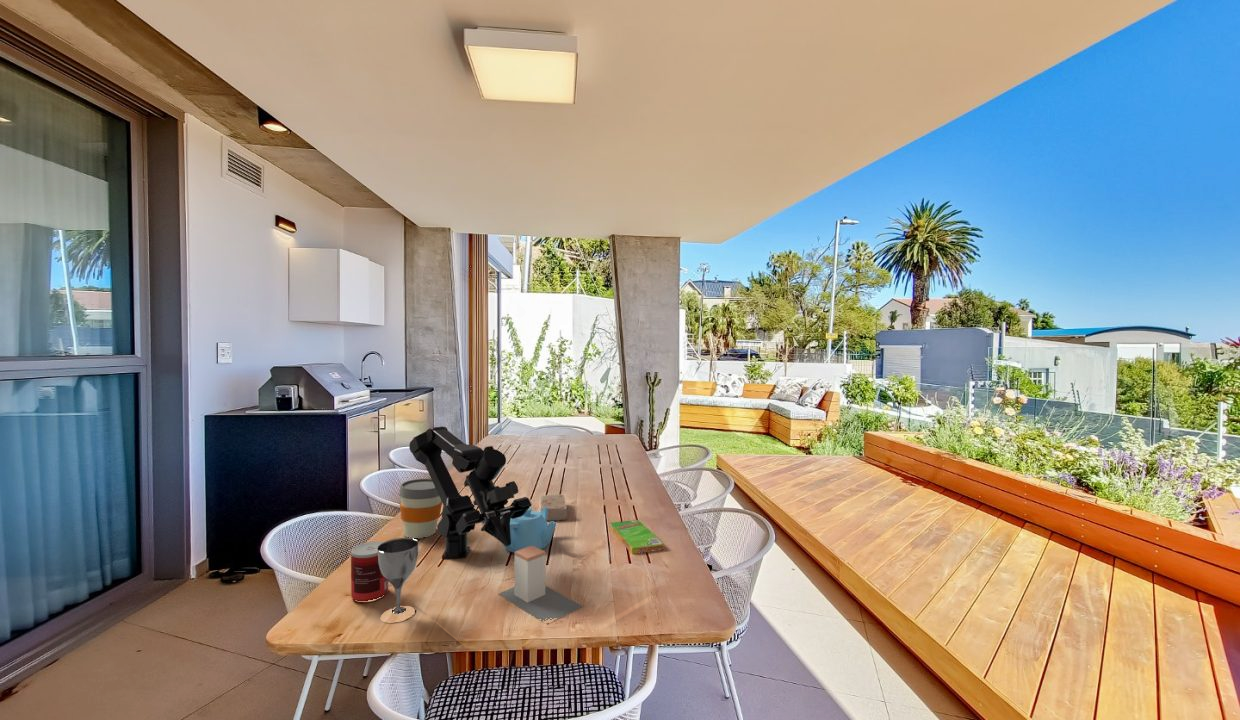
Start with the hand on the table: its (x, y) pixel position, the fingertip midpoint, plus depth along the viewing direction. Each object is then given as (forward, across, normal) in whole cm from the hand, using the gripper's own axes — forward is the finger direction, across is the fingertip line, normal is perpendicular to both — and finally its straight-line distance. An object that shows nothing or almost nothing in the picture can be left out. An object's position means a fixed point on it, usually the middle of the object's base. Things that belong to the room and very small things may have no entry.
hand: (509, 545), depth 118 cm
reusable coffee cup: (-26, 0, +39) cm, 47 cm away
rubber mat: (+15, 0, -2) cm, 15 cm away
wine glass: (+3, -24, +11) cm, 26 cm away
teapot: (-4, +17, +18) cm, 25 cm away
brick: (-16, +40, +30) cm, 52 cm away
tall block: (+12, 0, 0) cm, 12 cm away
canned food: (-6, -25, +20) cm, 33 cm away
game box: (+9, +43, +5) cm, 44 cm away
